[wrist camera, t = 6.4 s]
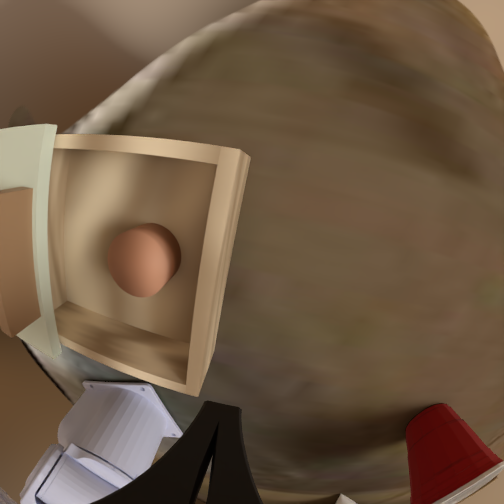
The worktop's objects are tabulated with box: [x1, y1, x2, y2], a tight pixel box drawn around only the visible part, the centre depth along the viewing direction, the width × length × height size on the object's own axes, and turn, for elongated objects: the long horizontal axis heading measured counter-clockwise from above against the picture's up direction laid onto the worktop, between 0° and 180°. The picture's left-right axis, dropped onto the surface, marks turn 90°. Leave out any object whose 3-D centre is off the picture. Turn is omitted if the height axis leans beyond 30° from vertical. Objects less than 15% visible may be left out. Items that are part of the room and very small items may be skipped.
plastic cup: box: [406, 403, 504, 504], centre depth 15 cm, size 11×11×12 cm
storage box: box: [47, 134, 251, 397], centre depth 15 cm, size 14×14×5 cm
